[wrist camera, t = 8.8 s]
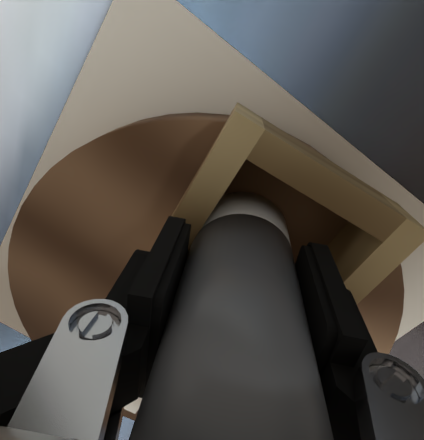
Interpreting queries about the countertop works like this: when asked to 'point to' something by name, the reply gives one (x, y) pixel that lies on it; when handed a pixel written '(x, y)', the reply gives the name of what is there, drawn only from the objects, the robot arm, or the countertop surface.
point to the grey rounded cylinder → (236, 338)
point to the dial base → (193, 111)
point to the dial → (199, 213)
